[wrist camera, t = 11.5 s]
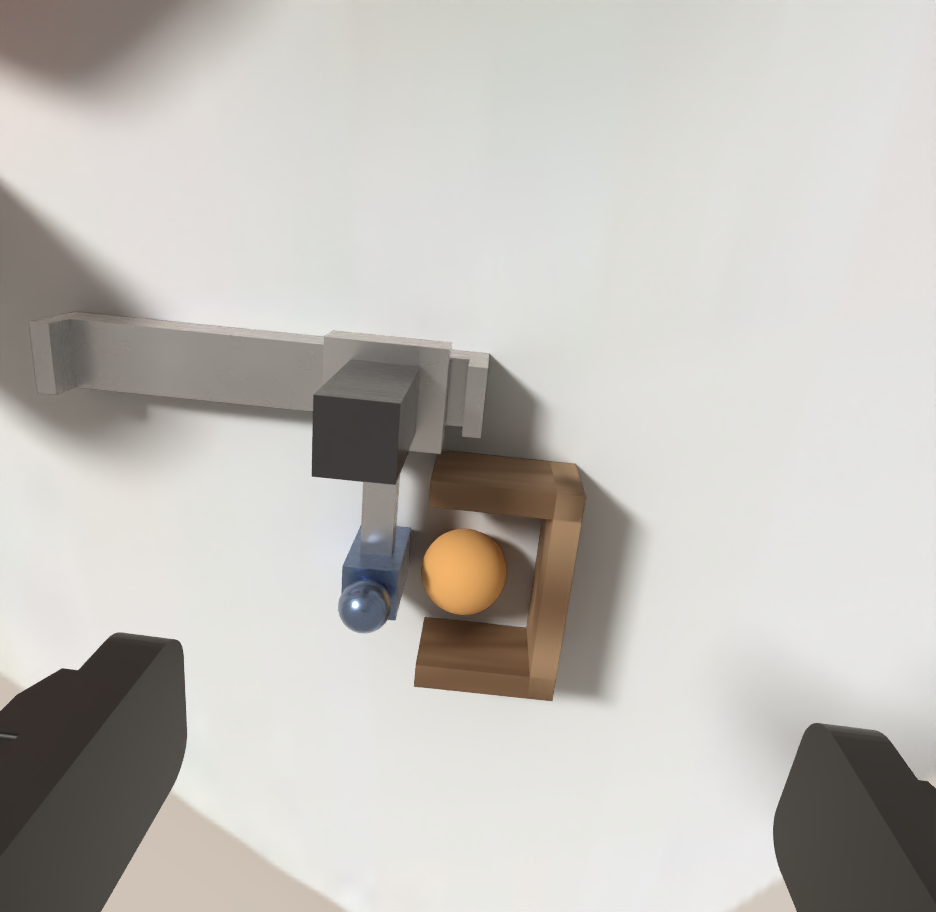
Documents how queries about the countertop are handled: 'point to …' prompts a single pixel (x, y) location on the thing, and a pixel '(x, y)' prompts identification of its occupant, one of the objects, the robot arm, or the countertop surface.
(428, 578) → the ball
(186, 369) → the rail
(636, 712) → the countertop surface
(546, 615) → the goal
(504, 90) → the countertop surface
